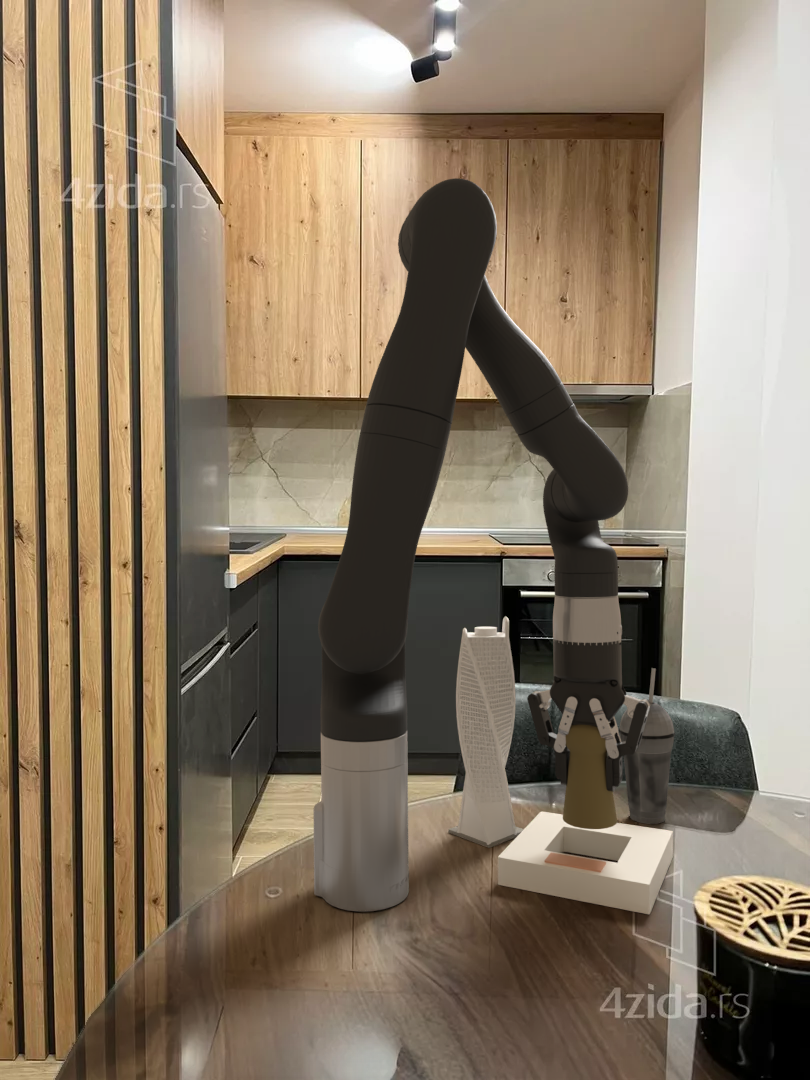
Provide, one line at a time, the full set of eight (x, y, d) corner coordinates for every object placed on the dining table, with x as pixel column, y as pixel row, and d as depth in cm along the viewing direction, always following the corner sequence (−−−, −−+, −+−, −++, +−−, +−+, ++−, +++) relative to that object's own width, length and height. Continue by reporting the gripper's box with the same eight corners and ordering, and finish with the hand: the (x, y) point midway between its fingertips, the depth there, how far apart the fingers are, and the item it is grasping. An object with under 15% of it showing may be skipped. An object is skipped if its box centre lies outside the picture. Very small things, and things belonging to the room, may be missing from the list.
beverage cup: (608, 812, 109) (607, 666, 109) (654, 806, 111) (653, 663, 111) (639, 830, 102) (638, 674, 102) (687, 823, 104) (686, 671, 104)
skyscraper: (534, 836, 100) (533, 614, 100) (492, 853, 95) (490, 619, 95) (485, 819, 107) (483, 610, 107) (442, 834, 101) (440, 614, 101)
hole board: (497, 884, 87) (497, 855, 87) (541, 834, 101) (541, 809, 101) (649, 914, 79) (649, 882, 79) (673, 856, 94) (672, 829, 94)
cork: (619, 830, 86) (616, 729, 86) (562, 827, 88) (560, 727, 88) (615, 811, 92) (613, 717, 92) (562, 809, 94) (560, 715, 94)
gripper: (515, 636, 90) (517, 787, 90) (645, 642, 83) (648, 805, 83) (535, 629, 97) (537, 770, 97) (657, 634, 90) (659, 785, 90)
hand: (588, 785), depth 90 cm, fingers closed on cork, 4 cm apart
